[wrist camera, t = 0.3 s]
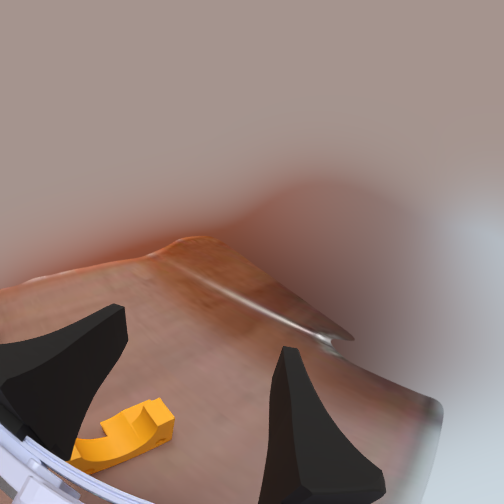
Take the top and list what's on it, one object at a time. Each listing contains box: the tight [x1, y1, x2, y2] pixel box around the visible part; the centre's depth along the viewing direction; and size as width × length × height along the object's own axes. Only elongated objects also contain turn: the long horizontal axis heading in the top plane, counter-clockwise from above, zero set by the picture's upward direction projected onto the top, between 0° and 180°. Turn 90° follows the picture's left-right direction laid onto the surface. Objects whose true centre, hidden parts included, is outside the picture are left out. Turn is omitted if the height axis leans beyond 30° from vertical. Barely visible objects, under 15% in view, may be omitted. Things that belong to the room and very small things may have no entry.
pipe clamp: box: [66, 398, 175, 475], centre depth 19 cm, size 12×4×6 cm, turn 135°
